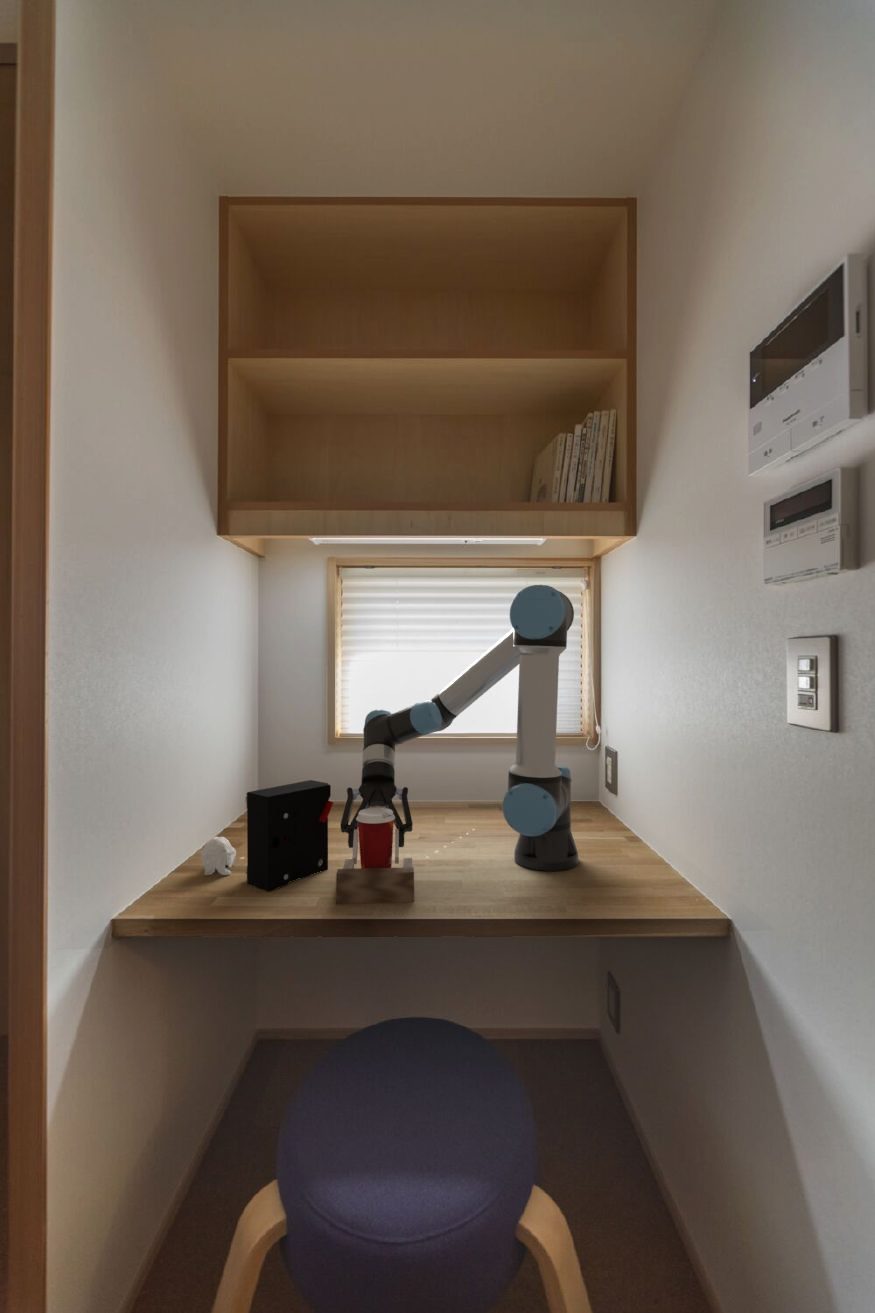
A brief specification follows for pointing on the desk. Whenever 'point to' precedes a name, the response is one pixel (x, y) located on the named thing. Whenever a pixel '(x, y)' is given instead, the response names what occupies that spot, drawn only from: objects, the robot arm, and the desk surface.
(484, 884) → the desk surface
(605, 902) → the desk surface
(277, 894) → the desk surface
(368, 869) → the guide channel
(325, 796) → the electrical component
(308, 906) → the desk surface
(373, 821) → the coffee cup
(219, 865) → the white figurine
